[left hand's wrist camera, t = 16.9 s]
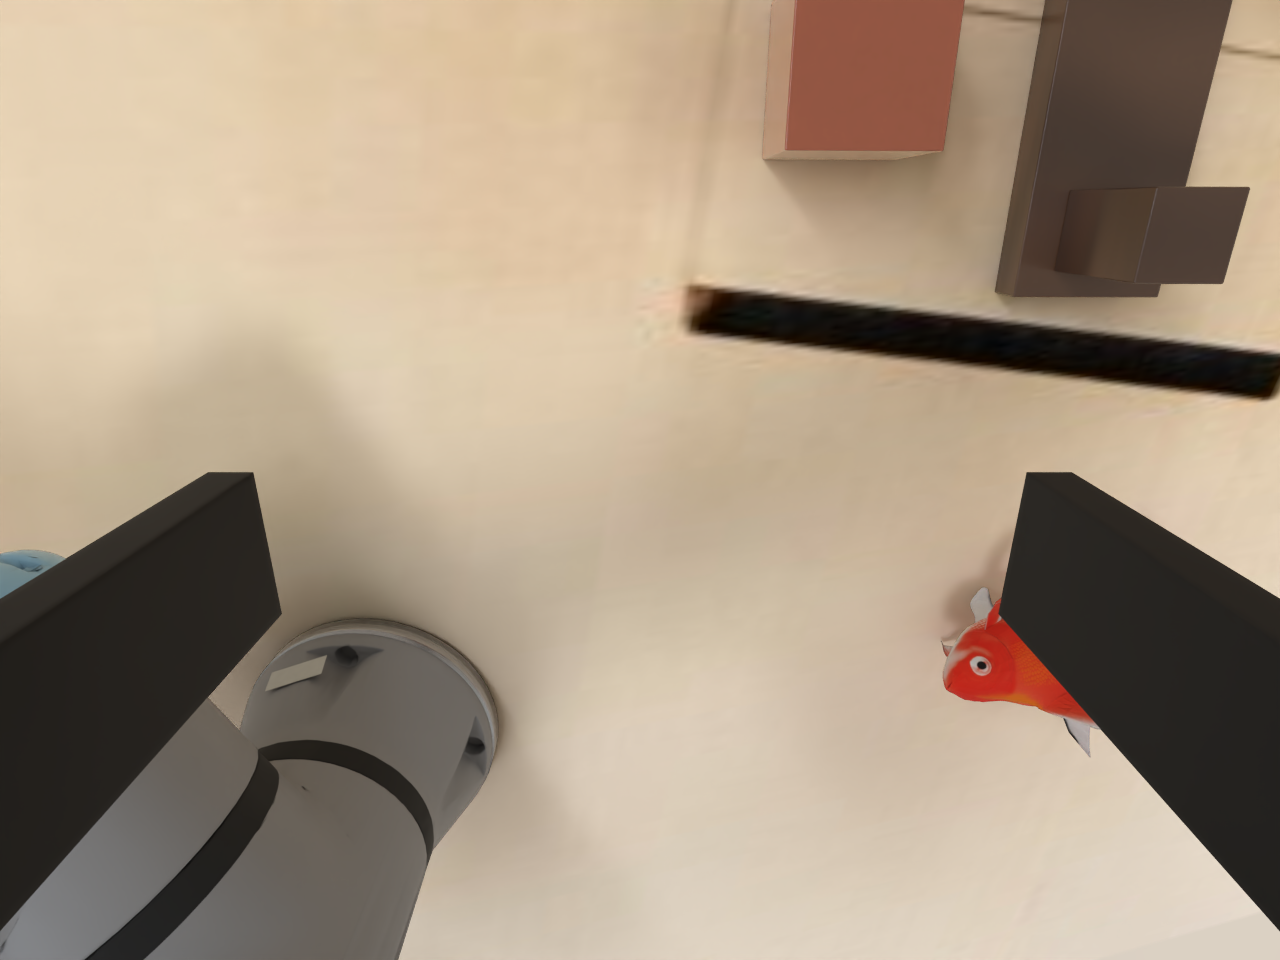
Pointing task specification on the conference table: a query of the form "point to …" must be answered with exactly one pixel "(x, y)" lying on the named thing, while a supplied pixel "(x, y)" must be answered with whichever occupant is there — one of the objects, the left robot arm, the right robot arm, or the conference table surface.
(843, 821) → the conference table surface
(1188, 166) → the walnut stand
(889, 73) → the cap block
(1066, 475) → the left robot arm
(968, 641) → the fish
